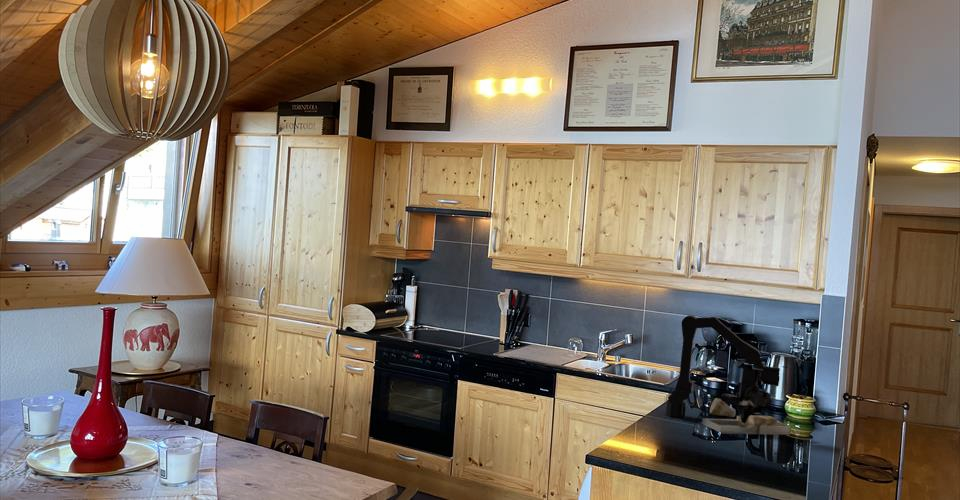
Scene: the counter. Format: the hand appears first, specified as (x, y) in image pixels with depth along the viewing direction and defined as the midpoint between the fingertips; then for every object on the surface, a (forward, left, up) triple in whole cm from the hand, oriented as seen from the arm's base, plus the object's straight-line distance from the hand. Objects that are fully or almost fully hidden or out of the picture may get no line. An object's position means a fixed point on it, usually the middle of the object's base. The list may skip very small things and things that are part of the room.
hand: (743, 422), depth 282 cm
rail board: (+1, 0, -3) cm, 3 cm away
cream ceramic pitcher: (+6, +20, -3) cm, 21 cm away
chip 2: (+11, 0, -2) cm, 11 cm away
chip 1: (+6, 0, -2) cm, 7 cm away
